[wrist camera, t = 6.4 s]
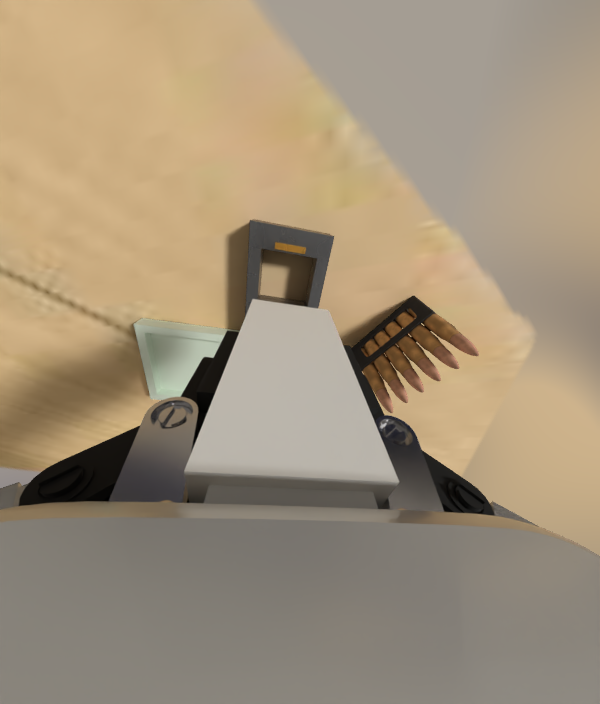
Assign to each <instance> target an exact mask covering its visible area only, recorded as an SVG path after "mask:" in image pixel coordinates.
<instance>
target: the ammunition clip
mask: <svg viewBox="0 0 600 704" xmlns="http://www.w3.org/2000/svg"><path fill="white" fill-rule="evenodd" d="M415 318H416V319H415ZM421 323H422V324H424V326H423V325H422V324H421ZM402 328H403V329H402ZM430 331H432V332H433V333H435V334H436V335H437V336H438V337H440V338H441V339H443V340H446V341H447V342H449V343H450V344H452V345H453V346H455V347H456V348H458V349H459V350H461V351H463V352H465V353H467V354H470V355H473V356H478V355H479V353H478V350H477V349H476V347H475V346H474V345H473V344H472V342H470V341H469V340H468V339H467V338H466V337H464V336H463V335H462V334H461V333H460V332H459V331H457V329H456V328H455V327H454V326H453V325H452V324H450V323H449V322H447V321H446V320H444V319H443V318H442V317H440V316H439V315H437V314H436V313H435V312H434V311H432V310H431V309H430V308H429V307H428V306H426V305H425V304H424V303H423V302H421V301H420V300H419V299H418V298H416V297H415V296H412V297H411V298H410V299H409V300H408V301H406V302H405V303H404V304H403V305H402V306H401V307H399V308H398V309H397V310H396V311H395V312H394V313H392V314H391V315H390V316H389V317H388V318H386V319H385V320H384V321H383V322H382V323H381V324H379V325H378V326H377V327H376V328H375V329H374V330H372V331H371V332H370V333H369V334H368V335H367V336H365V337H364V338H363V339H362V340H361V341H360V342H358V343H357V344H356V345H355V346H354V347H353V348H351V349H352V351H353V354H354V356H355V358H356V360H357V362H358V365H359V367H360V369H361V371H363V373H364V375H365V376H366V377H367V379H368V382H369V384H370V386H371V388H372V389H373V391H374V392H375V394H376V396H377V397H378V399H379V401H380V402H381V404H382V405H383V406H384V408H385V409H386V410H387V411H389V412H390V413H393V405H392V401H391V398H390V396H389V394H388V392H387V390H386V387H385V385H384V381H383V379H384V380H385V381H386V382H387V383H388V385H389V386H390V387H391V389H392V391H393V392H394V393H395V394H396V396H397V397H398V398H399V399H400V400H402V401H403V402H405V403H408V397H407V393H406V390H405V388H404V386H403V385H402V383H401V382H400V379H399V378H398V375H397V372H396V370H397V371H399V372H400V373H401V374H402V376H403V377H404V378H405V379H406V380H407V382H408V383H409V384H410V385H411V386H412V387H413V388H415V389H416V390H418V391H419V392H424V388H423V384H422V382H421V380H420V378H419V376H418V375H417V373H416V372H415V371H414V369H413V368H412V366H411V364H410V362H409V360H408V359H407V357H408V358H409V359H410V360H411V361H413V362H414V363H415V364H416V365H417V366H418V367H419V368H420V369H421V370H422V371H423V372H424V373H425V374H426V375H428V376H429V377H431V378H432V379H434V380H436V381H440V380H441V378H440V374H439V372H438V370H437V369H436V367H435V366H434V364H433V363H432V362H431V361H430V360H429V358H428V357H427V356H426V355H425V353H424V351H423V350H422V348H421V347H420V346H419V345H418V344H417V343H416V342H418V343H419V344H420V345H421V346H422V347H423V348H424V349H426V350H427V351H429V352H430V353H432V354H433V355H434V356H435V357H436V358H438V359H439V360H440V361H441V362H443V363H444V364H446V365H448V366H449V367H452V368H454V369H459V364H458V362H457V360H456V359H455V357H454V356H453V355H452V354H451V352H450V351H449V350H447V349H446V348H445V346H444V345H443V344H442V343H441V342H440V341H439V339H438V338H437V337H436V336H435V335H433V334H432V333H431V332H430ZM408 333H409V334H410V335H411V336H412V337H410V336H409V335H408ZM390 337H391V338H390ZM396 344H397V345H398V346H399V348H398V346H397V345H396ZM379 346H380V347H379ZM403 352H404V353H405V355H406V356H407V357H406V356H405V355H404V354H403ZM384 353H385V354H386V356H387V357H386V356H385V354H384ZM390 362H391V363H392V364H393V366H394V367H395V369H396V370H395V369H394V368H393V366H392V365H391V363H390ZM378 371H379V372H378ZM379 373H380V374H381V376H382V377H381V376H380V374H379ZM382 378H383V379H382Z"/></svg>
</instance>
